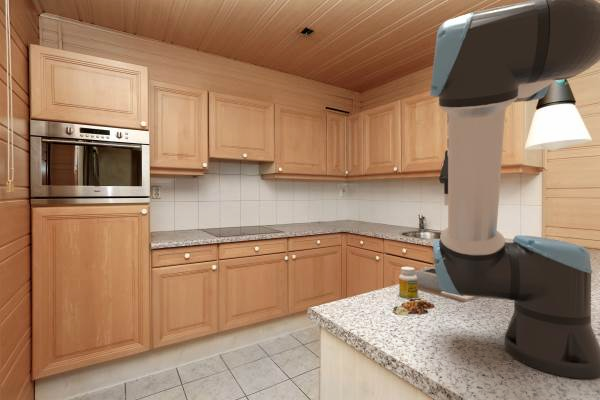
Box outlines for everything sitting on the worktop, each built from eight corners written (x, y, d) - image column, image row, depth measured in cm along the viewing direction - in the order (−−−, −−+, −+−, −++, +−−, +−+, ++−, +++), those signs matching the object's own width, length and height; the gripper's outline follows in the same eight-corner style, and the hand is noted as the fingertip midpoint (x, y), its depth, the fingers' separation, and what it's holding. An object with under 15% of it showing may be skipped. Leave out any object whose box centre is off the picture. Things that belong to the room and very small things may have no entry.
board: (463, 306, 87) (463, 302, 87) (406, 289, 103) (406, 286, 103) (490, 294, 96) (489, 291, 96) (434, 281, 112) (434, 278, 112)
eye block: (441, 292, 96) (441, 277, 96) (413, 285, 104) (413, 270, 104) (458, 286, 102) (458, 272, 101) (430, 280, 110) (430, 266, 110)
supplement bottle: (408, 295, 98) (408, 265, 97) (421, 300, 93) (421, 268, 93) (395, 297, 95) (395, 267, 95) (408, 303, 90) (408, 271, 90)
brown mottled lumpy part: (388, 311, 86) (387, 299, 86) (418, 304, 91) (418, 292, 91) (406, 320, 79) (406, 307, 79) (438, 311, 84) (438, 299, 84)
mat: (466, 301, 88) (466, 299, 88) (440, 293, 95) (440, 292, 95) (483, 294, 94) (483, 292, 94) (458, 287, 101) (458, 286, 101)
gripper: (450, 129, 83) (451, 206, 84) (493, 137, 97) (493, 203, 98) (425, 133, 90) (426, 205, 90) (469, 140, 104) (469, 203, 104)
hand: (461, 204), depth 94 cm, fingers open, 13 cm apart
